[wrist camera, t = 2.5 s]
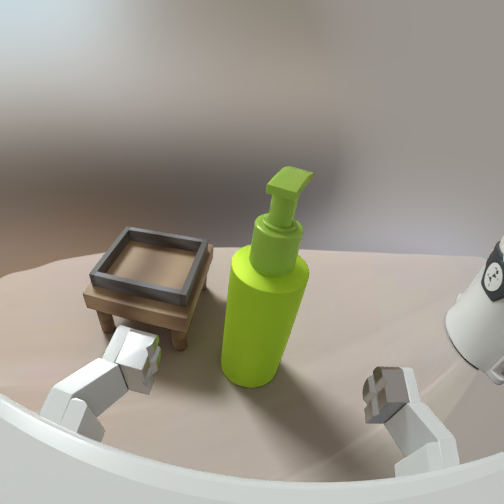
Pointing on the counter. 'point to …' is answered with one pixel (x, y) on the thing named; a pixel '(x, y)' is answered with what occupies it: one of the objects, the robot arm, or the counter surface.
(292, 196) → the soap dispenser
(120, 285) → the stool
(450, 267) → the counter surface
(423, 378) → the counter surface
